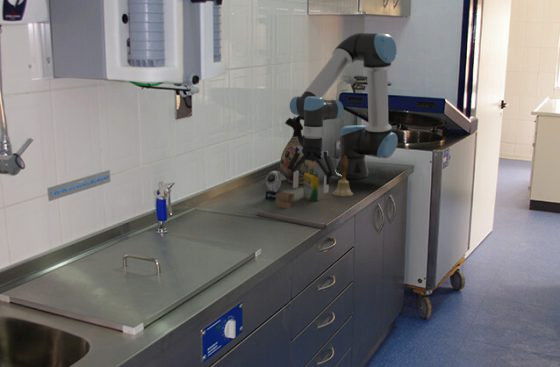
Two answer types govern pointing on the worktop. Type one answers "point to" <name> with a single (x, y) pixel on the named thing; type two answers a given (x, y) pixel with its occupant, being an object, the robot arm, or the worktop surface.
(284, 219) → the metal rod
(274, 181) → the watch
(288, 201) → the walnut block
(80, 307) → the worktop surface
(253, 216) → the worktop surface
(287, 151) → the ceramic jug
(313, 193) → the crayon box
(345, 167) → the hand bell
